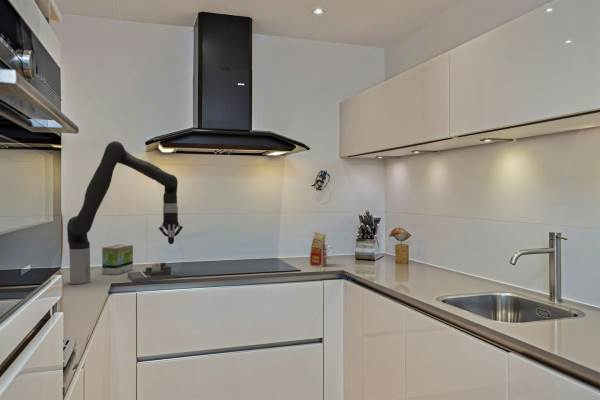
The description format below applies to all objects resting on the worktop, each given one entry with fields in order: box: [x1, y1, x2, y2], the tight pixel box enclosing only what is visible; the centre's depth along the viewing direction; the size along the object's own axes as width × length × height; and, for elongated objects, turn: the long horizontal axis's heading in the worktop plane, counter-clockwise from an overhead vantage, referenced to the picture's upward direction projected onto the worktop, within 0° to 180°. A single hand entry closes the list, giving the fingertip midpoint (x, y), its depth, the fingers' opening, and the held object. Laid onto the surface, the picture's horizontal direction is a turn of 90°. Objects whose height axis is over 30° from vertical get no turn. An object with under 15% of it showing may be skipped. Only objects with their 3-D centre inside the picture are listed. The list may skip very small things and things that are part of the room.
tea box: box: [101, 244, 134, 275], centre depth 254 cm, size 15×10×15 cm
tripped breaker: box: [151, 262, 161, 271], centre depth 240 cm, size 4×3×5 cm
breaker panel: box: [127, 262, 178, 283], centre depth 239 cm, size 22×18×6 cm
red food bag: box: [308, 231, 327, 268], centre depth 269 cm, size 9×9×20 cm
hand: (171, 243), depth 243 cm, fingers closed
